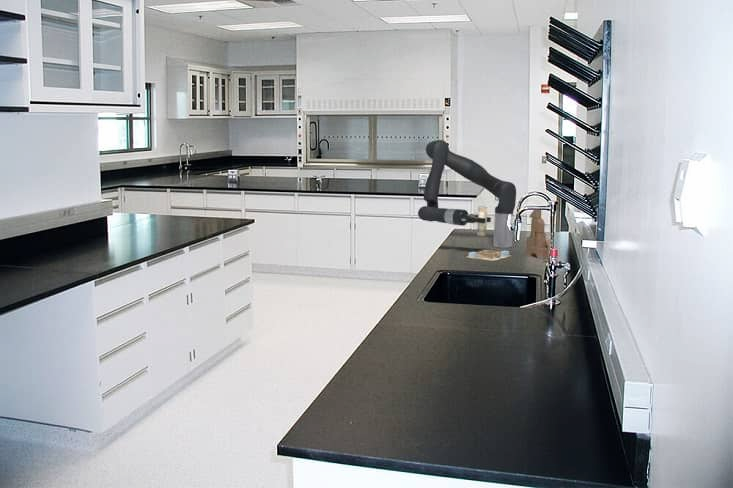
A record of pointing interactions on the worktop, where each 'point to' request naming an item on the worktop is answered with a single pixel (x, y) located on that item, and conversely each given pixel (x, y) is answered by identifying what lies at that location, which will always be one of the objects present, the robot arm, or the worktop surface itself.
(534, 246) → the wooden toy
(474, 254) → the tail piece
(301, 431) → the worktop surface
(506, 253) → the wing piece
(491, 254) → the jig
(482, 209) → the fuselage dowel
